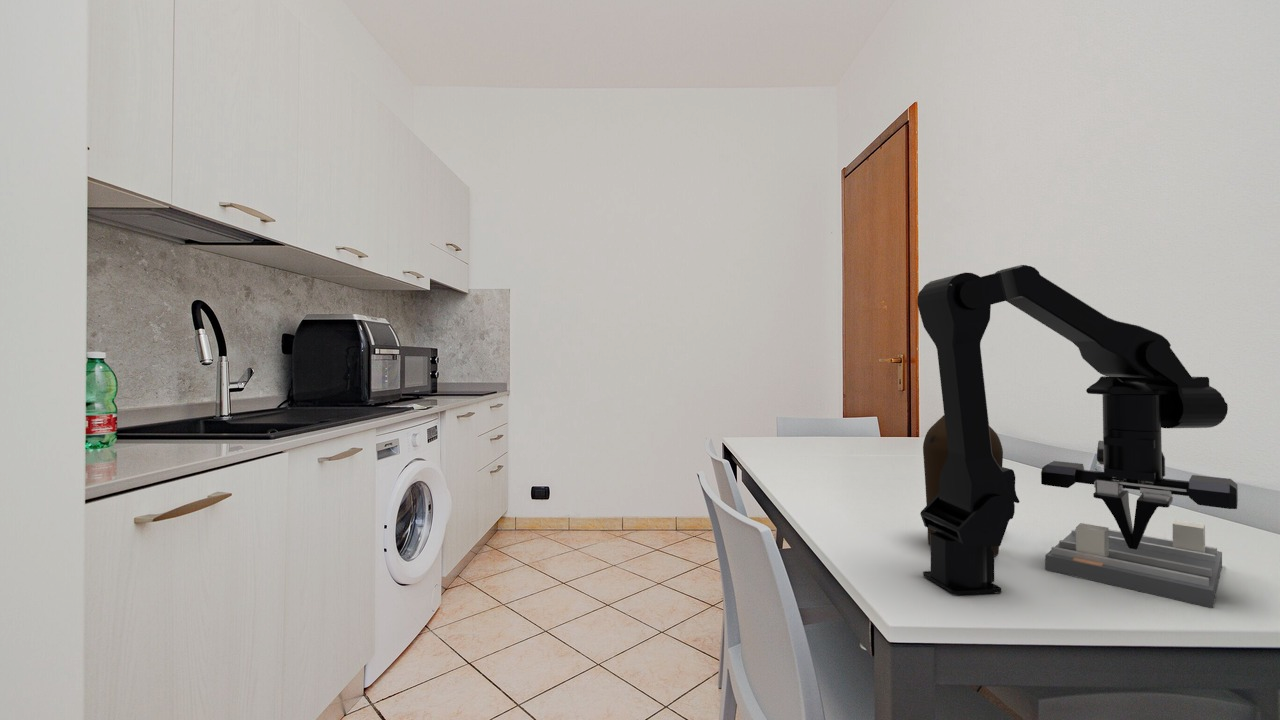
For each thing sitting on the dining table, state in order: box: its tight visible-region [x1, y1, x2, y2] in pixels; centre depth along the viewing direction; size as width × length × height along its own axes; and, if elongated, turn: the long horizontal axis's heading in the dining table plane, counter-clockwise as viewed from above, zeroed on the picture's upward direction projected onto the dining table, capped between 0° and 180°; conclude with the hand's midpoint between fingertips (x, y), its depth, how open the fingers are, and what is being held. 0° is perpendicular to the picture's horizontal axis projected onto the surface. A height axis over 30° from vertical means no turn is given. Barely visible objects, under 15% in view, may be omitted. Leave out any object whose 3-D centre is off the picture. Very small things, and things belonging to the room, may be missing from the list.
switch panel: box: [1044, 528, 1223, 609], centre depth 76 cm, size 20×16×3 cm
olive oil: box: [922, 414, 1004, 557], centre depth 85 cm, size 11×11×25 cm
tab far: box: [1172, 519, 1206, 553], centre depth 77 cm, size 3×3×4 cm
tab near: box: [1075, 522, 1110, 557], centre depth 75 cm, size 3×3×4 cm
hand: (1133, 548), depth 72 cm, fingers closed
